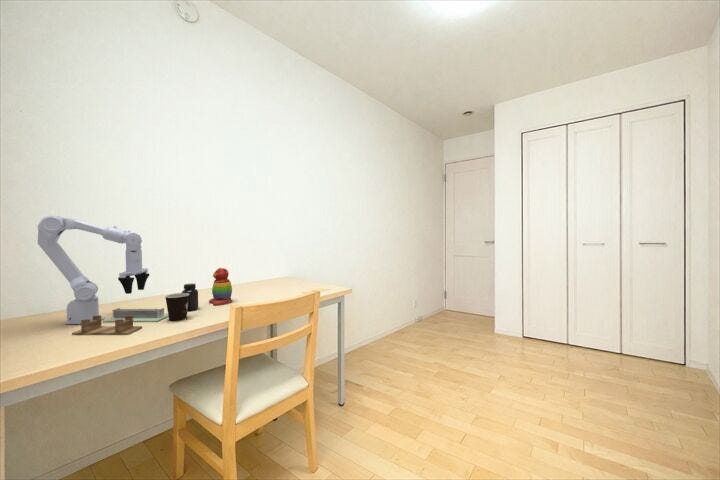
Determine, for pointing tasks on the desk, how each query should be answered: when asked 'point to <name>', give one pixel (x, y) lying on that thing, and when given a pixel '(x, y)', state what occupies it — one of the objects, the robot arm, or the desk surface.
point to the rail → (138, 313)
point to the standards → (107, 327)
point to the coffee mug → (177, 306)
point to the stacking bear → (221, 288)
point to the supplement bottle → (191, 296)
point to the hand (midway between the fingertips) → (134, 291)
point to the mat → (139, 319)
